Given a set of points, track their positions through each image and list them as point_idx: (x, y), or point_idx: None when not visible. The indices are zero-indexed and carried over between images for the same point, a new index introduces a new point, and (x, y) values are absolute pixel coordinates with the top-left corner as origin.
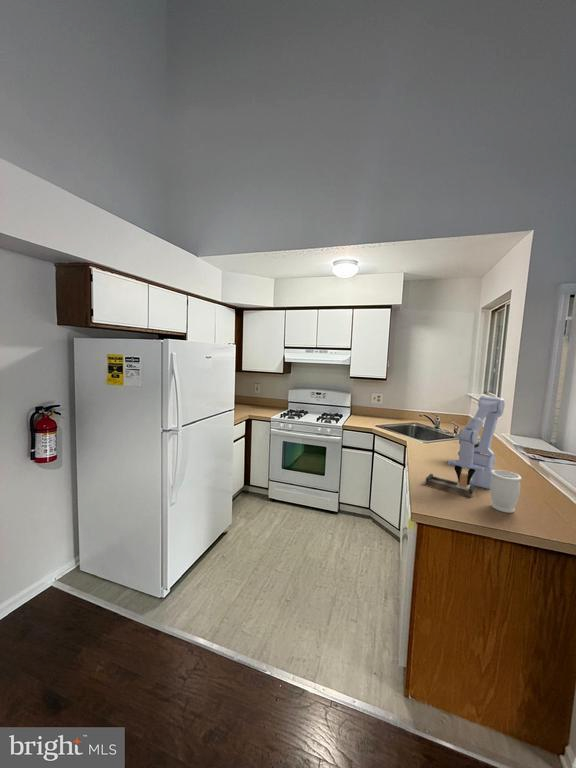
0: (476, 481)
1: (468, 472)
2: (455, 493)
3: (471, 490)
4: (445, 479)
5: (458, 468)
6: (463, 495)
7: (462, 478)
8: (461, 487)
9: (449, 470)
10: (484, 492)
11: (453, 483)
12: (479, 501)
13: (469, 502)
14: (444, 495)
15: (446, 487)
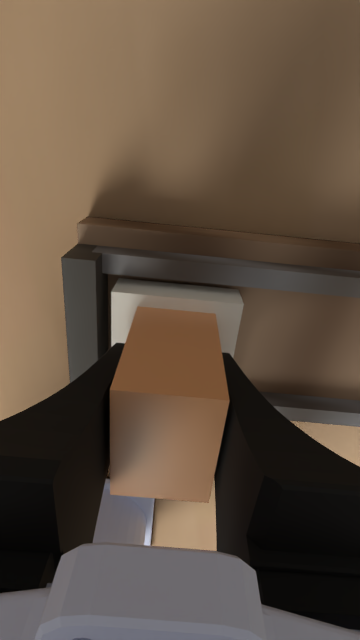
0: (102, 513)
1: (54, 450)
2: (235, 231)
3: (73, 256)
4: (345, 424)
5: (296, 530)
6: (160, 224)
7: (185, 368)
8: (187, 295)
9: None
10: None
11: (267, 396)
12: (5, 179)
13: (76, 63)
14: (351, 86)
15: (337, 265)
